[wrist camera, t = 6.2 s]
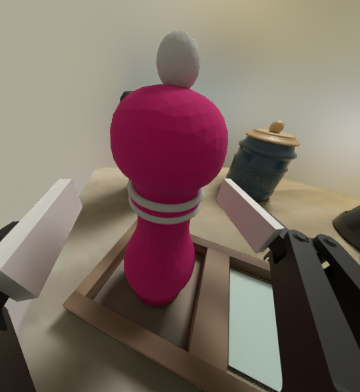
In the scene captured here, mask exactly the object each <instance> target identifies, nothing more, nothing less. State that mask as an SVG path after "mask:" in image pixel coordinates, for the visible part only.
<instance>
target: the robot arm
mask: <svg viewBox="0 0 360 392" xmlns="http://www.w3.org/2000/svg"><path fill="white" fill-rule="evenodd" d="M216 201H217V202H218V203H219V205H220V206H221V207H222V209H223V210H224V211H225V213H226V214H227V215H228V217H229V218H230V219H231V221H232V222H233V223H234V225H235V226H236V227H237V229H238V230H239V232H240V233H241V234H242V236H243V237H244V238H245V240H246V241H247V242H248V244H249V245H250V246H251V248H252V249H253V250H254V252H255V253H259V252H264V251H265V250H266V248H267V247H269V249H270V251H269V252H268V253H267V254H266V255H265V256H264V260H265V259H266V258H267V257H269V259H268V260H267V261H269V263H270V272H271V281H272V290H273V300H274V309H275V318H276V327H277V336H278V346H279V355H280V364H281V373H282V389H281V391H280V392H360V265H359V264H358V263H357V262H356V261H355V260H354V259H353V258H352V257H351V256H350V254H349V253H348V252H347V251H346V250H345V249H344V248H343V247H342V246H341V245H340V244H339V243H338V242H337V241H335V240H334V239H333V238H331V237H329V236H326V235H323V234H319V235H317V236H316V237H315V238H308V237H307V236H305V235H304V234H303V233H301V232H299V231H296V230H289V229H287V228H286V227H285V226H284V225H283V224H282V223H281V222H279V221H278V220H277V219H276V218H275V217H274V216H272V214H270V213H269V212H268V211H267V210H266V209H265V208H264V207H262V206H260V205H259V204H258V203H256V202H255V201H254V200H253V199H252V198H251V197H250V196H249V195H248V194H246V193H245V192H244V191H243V190H242V189H241V188H240V187H239V186H238V185H237V184H235V183H234V182H233V181H232V180H231V179H223V182H222V184H221V187H220V190H219V192H218V195H217V198H216ZM82 207H83V206H82V204H81V201H80V199H79V196H78V193H77V191H76V188H75V186H74V183H73V181H72V179H59V180H58V181H57V182H56V183H55V184H54V186H52V188H51V189H50V190H49V191H48V192H47V193H46V194H45V195H44V196H43V197H42V198H41V199H40V200H39V202H37V204H36V205H35V206H34V207H33V208H32V209H31V210H30V211H29V212H28V213H27V214H26V215H25V216H24V217H23V218H22V219H21V221H17V222H12V223H10V224H9V225H7V226H5V227H4V228H2V229H1V230H0V392H36V390H35V387H34V384H33V381H32V378H31V376H30V373H29V370H28V367H27V364H26V361H25V358H24V356H23V353H22V350H21V347H20V344H19V341H18V338H17V336H16V333H15V330H14V327H13V324H12V322H11V318H10V316H9V313H8V310H7V309H6V307H4V305H5V303H6V302H7V300H8V298H9V297H10V298H11V299H13V300H15V301H17V302H18V301H23V300H28V299H33V298H38V296H39V294H40V292H41V290H42V288H43V286H44V284H45V282H46V280H47V278H48V276H49V274H50V272H51V270H52V268H53V266H54V264H55V262H56V260H57V258H58V256H59V254H60V252H61V250H62V248H63V246H64V244H65V242H66V240H67V238H68V236H69V234H70V232H71V230H72V228H73V226H74V224H75V222H76V220H77V218H78V216H79V214H80V211H81V209H82ZM333 224H334V226H335V228H336V229H337V231H338V232H339V233H340V234H341V235H342V236H343V237H344V238H345V239H347V240H348V241H349V242H350V243H351V244H353V245H354V246H355V247H357V248H358V249H359V250H360V206H358V207H356V208H354V209H352V210H350V211H345V212H343V213H341V214H340V215H339V216H337V217H336V218H335V219H334V220H333ZM326 261H327V262H328V263H329V264H330V266H328V267H327V268H325V269H323V268H322V265H321V264H323V263H324V262H326Z"/></svg>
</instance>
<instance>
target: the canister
mask: <svg viewBox="0 0 360 392" xmlns="http://www.w3.org/2000/svg"><path fill="white" fill-rule="evenodd" d="M283 128H284V123H283V122H282V121H275V122H273V123H272V124H271V126H270V128H269V130H265V129H258V128H255V129H254V130H252V131H249V132H247V133H246V135H248V136H247V137H246V138H245V139H244V140H241V141H239V145H240V147H239V149H238V152H237V153H235V154H234V158H233V161H232V164H231V166H230V169H229V171H228V173H227V175H226V178H225V179H231V180H232V181H233V182H234V183H235V184H237V185H238V186H239V187H240V188H241V189H242V190H243V191H244V192H245V193H246V194H248V195H249V196H250V197H251V198H252V199H253V200H254V201H264V200H267V199H268V198H269V197H270V196H271V195H272V193H273V192H274V189H275V188H276V186H277V185H278V183H279V182H280V180H281V179H282V177H283V175H284V174H285V173H286V172H287V171H288V168H287V167H288V165H289V163H290V162H291V160H293V159H295V158H296V157H297V154H296V153H295V152H294V150H295V146H299V145H300V144H299V143H298V141H297V140H296V137H295V136H292V135H289V134H285V133H281V131H282V130H283Z"/></svg>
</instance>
